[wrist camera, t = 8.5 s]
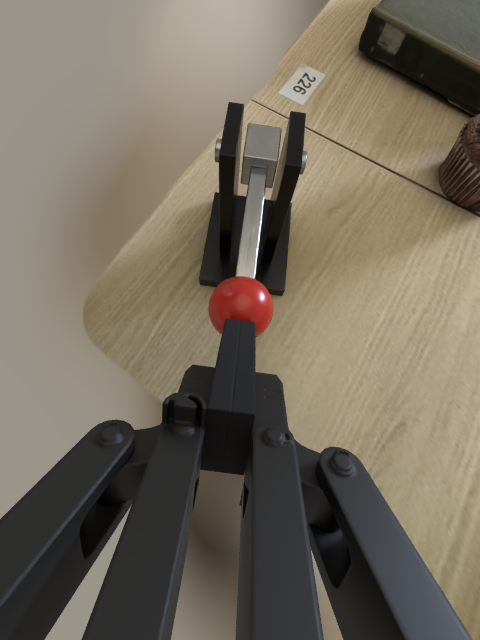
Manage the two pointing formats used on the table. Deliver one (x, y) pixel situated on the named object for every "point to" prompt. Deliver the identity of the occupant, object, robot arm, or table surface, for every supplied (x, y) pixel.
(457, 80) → the network switch
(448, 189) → the cupcake
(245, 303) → the switch lever
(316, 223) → the table surface
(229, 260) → the switch bracket
